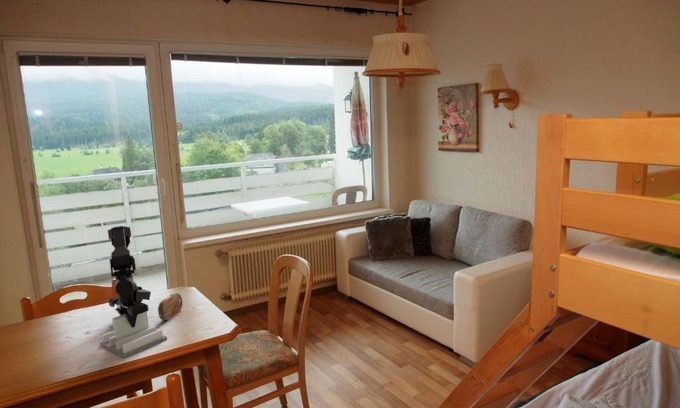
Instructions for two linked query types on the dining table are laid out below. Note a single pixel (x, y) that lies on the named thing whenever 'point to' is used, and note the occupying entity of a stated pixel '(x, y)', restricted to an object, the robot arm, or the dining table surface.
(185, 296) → the dining table surface
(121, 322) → the plate slab
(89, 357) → the dining table surface
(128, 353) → the dish rack
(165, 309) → the tin
